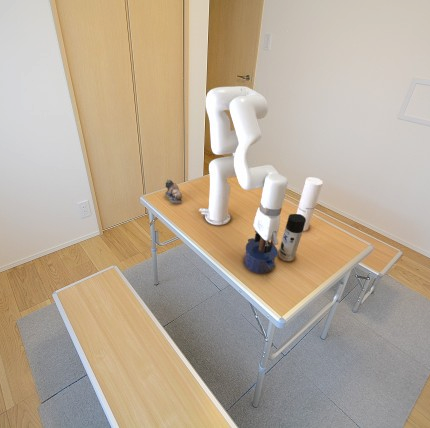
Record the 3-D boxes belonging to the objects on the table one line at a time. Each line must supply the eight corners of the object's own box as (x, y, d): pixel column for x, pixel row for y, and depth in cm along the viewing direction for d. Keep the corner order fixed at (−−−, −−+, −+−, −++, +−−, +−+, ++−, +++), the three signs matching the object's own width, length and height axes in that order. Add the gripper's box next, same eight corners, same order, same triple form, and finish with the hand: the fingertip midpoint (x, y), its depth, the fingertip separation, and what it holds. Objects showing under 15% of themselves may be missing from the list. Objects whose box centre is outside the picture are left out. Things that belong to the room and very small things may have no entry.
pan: (256, 281, 105) (259, 268, 101) (236, 252, 118) (238, 239, 114) (282, 274, 109) (286, 261, 105) (260, 246, 122) (263, 234, 118)
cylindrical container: (308, 231, 133) (323, 185, 119) (293, 229, 134) (306, 183, 120) (307, 223, 139) (321, 178, 125) (292, 220, 140) (305, 176, 126)
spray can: (276, 250, 120) (286, 212, 109) (291, 250, 121) (302, 212, 110) (280, 261, 115) (291, 222, 104) (296, 261, 116) (309, 222, 104)
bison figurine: (185, 203, 148) (185, 186, 142) (173, 207, 144) (173, 190, 139) (173, 193, 156) (172, 177, 150) (162, 197, 152) (161, 180, 146)
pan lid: (255, 265, 103) (258, 251, 99) (239, 244, 113) (241, 230, 109) (283, 258, 107) (287, 244, 103) (266, 238, 117) (269, 225, 113)
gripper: (249, 197, 104) (243, 235, 114) (274, 224, 91) (265, 263, 101) (266, 194, 106) (259, 231, 116) (293, 220, 93) (282, 259, 103)
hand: (262, 246), depth 109 cm, fingers open, 6 cm apart
